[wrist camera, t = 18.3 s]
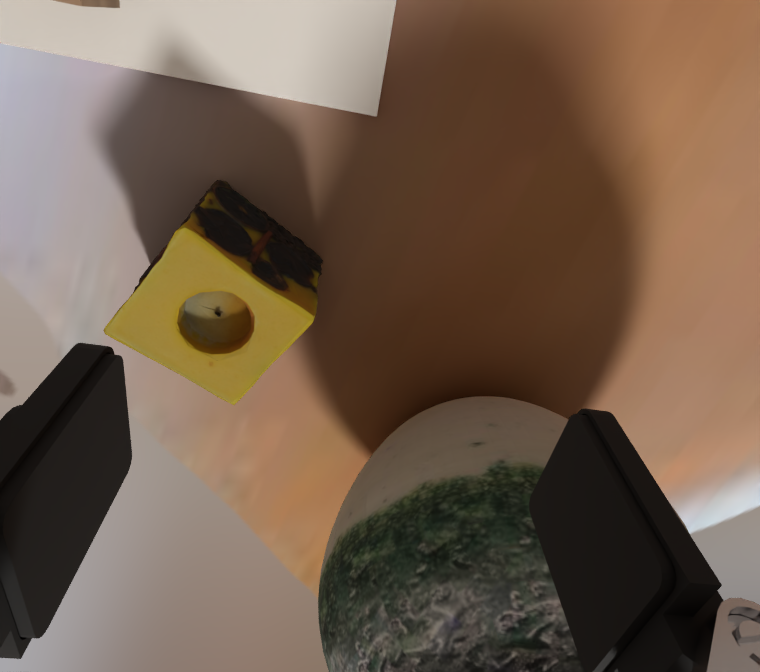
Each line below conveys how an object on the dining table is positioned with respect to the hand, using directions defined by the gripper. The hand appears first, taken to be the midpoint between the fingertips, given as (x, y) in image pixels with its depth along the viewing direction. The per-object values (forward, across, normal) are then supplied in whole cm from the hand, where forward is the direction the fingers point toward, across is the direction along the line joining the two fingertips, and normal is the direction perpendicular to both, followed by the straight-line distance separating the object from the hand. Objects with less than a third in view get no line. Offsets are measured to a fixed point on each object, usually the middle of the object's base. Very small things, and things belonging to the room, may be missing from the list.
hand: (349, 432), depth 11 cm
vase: (+31, -16, +28) cm, 44 cm away
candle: (+31, +8, +11) cm, 33 cm away
